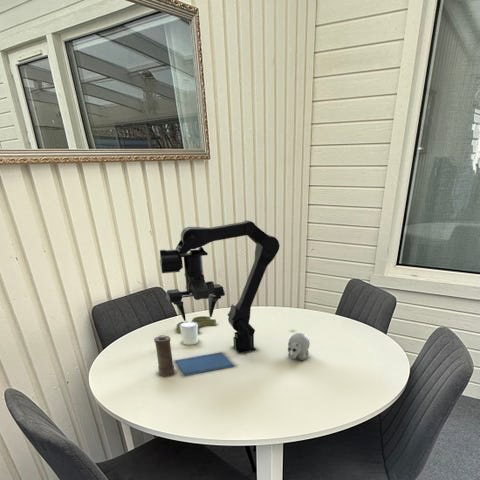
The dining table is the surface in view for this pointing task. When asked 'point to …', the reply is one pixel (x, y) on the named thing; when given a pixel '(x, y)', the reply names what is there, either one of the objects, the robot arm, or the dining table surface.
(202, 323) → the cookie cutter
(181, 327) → the white cylinder
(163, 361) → the pepper mill
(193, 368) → the napkin
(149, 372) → the dining table surface
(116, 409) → the dining table surface
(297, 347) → the grey bear figurine
